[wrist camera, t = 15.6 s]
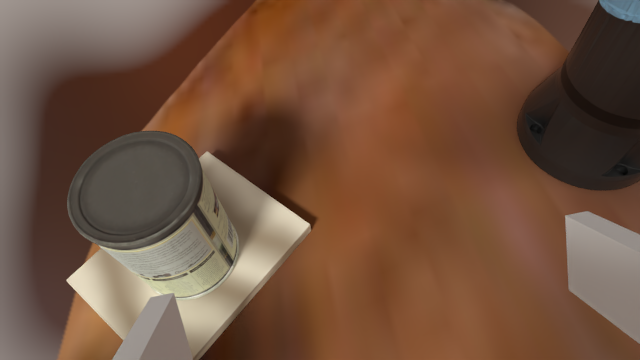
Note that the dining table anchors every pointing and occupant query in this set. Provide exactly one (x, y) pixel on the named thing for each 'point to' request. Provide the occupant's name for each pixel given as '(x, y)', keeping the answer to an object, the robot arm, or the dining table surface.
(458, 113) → the dining table surface
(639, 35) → the robot arm
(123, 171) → the coffee can
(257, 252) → the birch board
